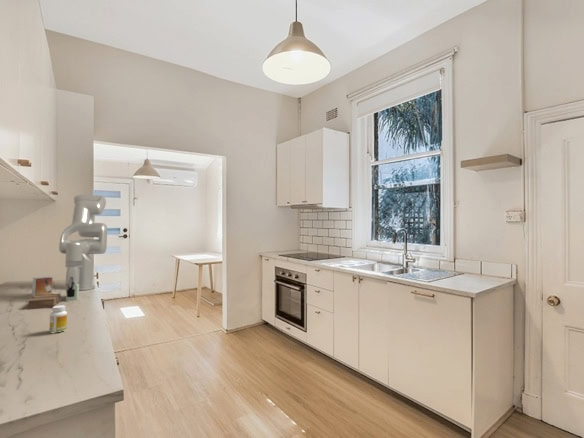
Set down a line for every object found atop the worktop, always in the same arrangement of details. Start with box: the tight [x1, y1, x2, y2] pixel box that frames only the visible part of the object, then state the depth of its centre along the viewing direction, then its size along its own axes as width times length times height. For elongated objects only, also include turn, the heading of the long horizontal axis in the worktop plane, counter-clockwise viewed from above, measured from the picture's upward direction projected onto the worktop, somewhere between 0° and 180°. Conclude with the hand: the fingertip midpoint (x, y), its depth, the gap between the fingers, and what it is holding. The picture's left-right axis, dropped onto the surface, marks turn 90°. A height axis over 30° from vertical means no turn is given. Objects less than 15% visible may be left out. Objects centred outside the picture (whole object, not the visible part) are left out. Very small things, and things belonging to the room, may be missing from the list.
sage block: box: [65, 284, 80, 302], centre depth 175 cm, size 5×5×8 cm
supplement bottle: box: [48, 304, 68, 333], centre depth 124 cm, size 5×5×10 cm
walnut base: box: [27, 293, 61, 310], centre depth 162 cm, size 14×10×4 cm
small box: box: [31, 275, 53, 298], centre depth 181 cm, size 8×6×10 cm
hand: (72, 295), depth 175 cm, fingers open, 9 cm apart
